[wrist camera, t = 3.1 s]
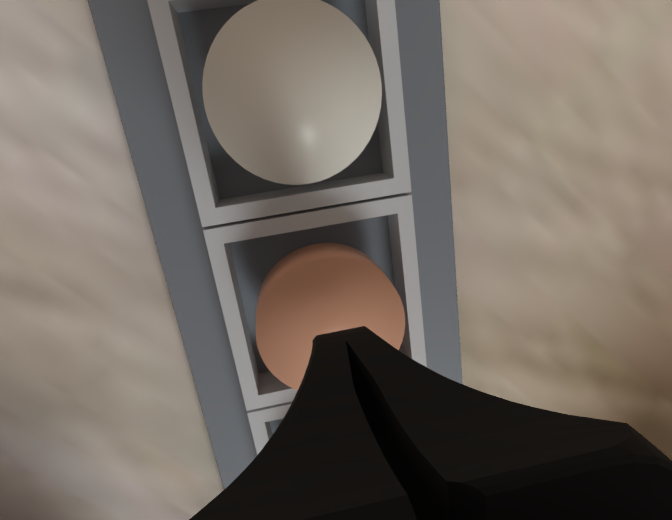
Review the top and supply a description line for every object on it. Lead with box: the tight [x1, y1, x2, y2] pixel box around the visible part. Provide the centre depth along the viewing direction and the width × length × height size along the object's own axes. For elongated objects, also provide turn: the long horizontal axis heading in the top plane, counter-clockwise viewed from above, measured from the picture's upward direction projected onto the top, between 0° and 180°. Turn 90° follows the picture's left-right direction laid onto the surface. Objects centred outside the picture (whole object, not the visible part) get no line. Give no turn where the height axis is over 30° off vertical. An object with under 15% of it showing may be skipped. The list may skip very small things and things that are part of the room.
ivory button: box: [202, 0, 382, 185], centre depth 12 cm, size 4×4×2 cm
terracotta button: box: [256, 243, 405, 390], centre depth 14 cm, size 4×4×2 cm
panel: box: [88, 0, 462, 490], centre depth 16 cm, size 10×21×2 cm, turn 8°
